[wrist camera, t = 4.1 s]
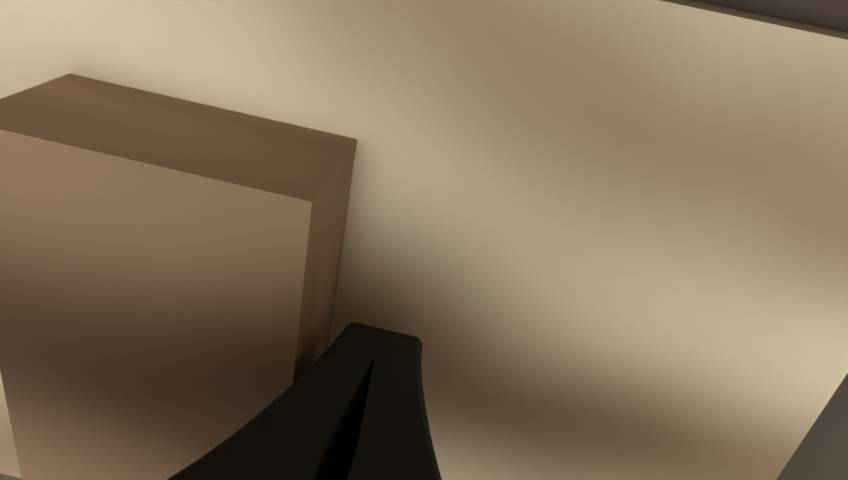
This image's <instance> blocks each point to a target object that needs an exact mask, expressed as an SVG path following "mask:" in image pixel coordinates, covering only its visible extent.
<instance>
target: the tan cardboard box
mask: <svg viewBox="0 0 848 480" xmlns="http://www.w3.org/2000/svg"><path fill="white" fill-rule="evenodd" d="M356 144H357V139H354V138H350V137H345V136H341V135H336V134H332V133H328V132H323V131H319V130H315V129H310V128H306V127H301V126H297V125H293V124H288V123H284V122H279V121H275V120H271V119H266V118H262V117H258V116H253V115H249V114H244V113H240V112H236V111H231V110H227V109H222V108H218V107H214V106H209V105H205V104H201V103H196V102H192V101H187V100H183V99H179V98H174V97H170V96H165V95H161V94H157V93H152V92H148V91H144V90H139V89H135V88H130V87H126V86H122V85H117V84H113V83H108V82H104V81H100V80H95V79H91V78H87V77H82V76H78V75H73V74H67V75H64V76H61V77H59V78H56V79H53V80H50V81H48V82H45V83H42V84H40V85H37V86H34V87H31V88H29V89H26V90H23V91H21V92H18V93H15V94H12V95H10V96H7V97H4V98H1V99H0V372H1V377H2V382H3V388H4V393H5V398H6V403H7V408H8V413H9V418H10V423H11V428H12V433H13V438H14V443H15V448H16V453H17V458H18V463H19V468H20V473H21V478H22V480H167V479H168V478H170V477H171V476H173V475H175V474H176V473H178V472H179V471H181V470H182V469H184V468H185V467H187V466H188V465H190V464H192V463H193V462H195V461H196V460H198V459H199V458H201V457H202V456H204V455H205V454H206V453H208V452H209V451H211V450H212V449H213V448H215V447H216V446H218V445H219V444H220V443H222V442H223V441H225V440H226V439H227V438H229V437H230V436H231V435H233V434H234V433H235V432H236V431H238V430H239V429H240V428H242V427H243V426H244V425H246V424H247V423H248V422H249V421H250V420H252V419H253V418H254V417H255V416H256V415H258V414H259V413H260V412H261V411H262V410H263V409H265V408H266V407H267V406H268V405H269V404H271V403H272V402H273V401H274V400H275V399H276V398H278V397H279V396H280V395H281V394H282V393H283V392H284V391H286V390H287V389H288V388H289V387H290V386H291V385H292V384H293V383H294V382H295V381H296V380H297V379H298V378H299V377H300V376H301V375H302V374H303V373H304V372H305V371H306V370H308V369H309V368H310V367H311V366H312V365H313V364H314V363H315V361H316V360H317V359H318V358H319V357H320V356H321V355H322V354H323V353H324V352H325V351H326V350H327V349H328V347H329V340H330V333H331V326H332V318H333V311H334V304H335V297H336V289H337V282H338V275H339V268H340V260H341V253H342V246H343V239H344V231H345V224H346V217H347V210H348V202H349V195H350V188H351V181H352V173H353V166H354V159H355V152H356Z"/></svg>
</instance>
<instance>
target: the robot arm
mask: <svg viewBox="0 0 848 480" xmlns="http://www.w3.org/2000/svg"><path fill="white" fill-rule="evenodd" d="M422 346H423V344H422V342H421V341H420V339H419V338H418V337H414V336H410V335H406V334H402V333H397V332H393V331H389V330H385V329H381V328H376V327H372V326H368V325H364V324H360V323H355V322H353V323H351V324H349V325H347V326H346V327H345V328H344V330H343V331H342V332H341V334H340V335H339V336H338V337H337V338H336V340H335V341H334V342H333V343H332V344H331V345H330V347H329V348H328V349H327V350H326V351H325V352H324V353H323V354H322V355H321V356H320V357H319V358H318V359H317V360H316V361H315V363H314V364H313V365H312V366H311V367H310V368H309V369H308V370H306V371H305V372H304V373H303V374H302V375H301V376H300V377H299V378H298V379H297V380H296V381H295V382H294V383H293V384H292V385H291V386H290V387H289V388H288V389H287V390H286V391H284V392H283V393H282V394H281V395H280V396H279V397H278V398H276V399H275V400H274V401H273V402H272V403H271V404H269V405H268V406H267V407H266V408H265V409H263V410H262V411H261V412H260V413H259V414H258V415H256V416H255V417H254V418H253V419H252V420H250V421H249V422H248V423H247V424H246V425H244V426H243V427H242V428H240V429H239V430H238V431H236V432H235V433H234V434H233V435H231V436H230V437H229V438H227V439H226V440H225V441H223V442H222V443H220V444H219V445H218V446H216V447H215V448H213V449H212V450H211V451H209V452H208V453H206V454H205V455H204V456H202V457H201V458H199V459H198V460H196V461H195V462H193V463H192V464H190V465H188V466H187V467H185V468H184V469H182V470H181V471H179V472H178V473H176V474H175V475H173V476H171V477H170V478H168V479H167V480H442V478H441V475H440V471H439V467H438V463H437V460H436V456H435V452H434V448H433V443H432V439H431V434H430V429H429V423H428V418H427V412H426V407H425V400H424V393H423V383H422V368H421V357H422Z"/></svg>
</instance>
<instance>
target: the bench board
mask: <svg viewBox="0 0 848 480" xmlns="http://www.w3.org/2000/svg"><path fill="white" fill-rule="evenodd" d="M67 74H73V75H78V76H82V77H87V78H91V79H95V80H100V81H104V82H108V83H113V84H117V85H122V86H126V87H130V88H135V89H139V90H144V91H148V92H152V93H157V94H161V95H165V96H170V97H174V98H179V99H183V100H187V101H192V102H196V103H201V104H205V105H209V106H214V107H218V108H222V109H227V110H231V111H236V112H240V113H244V114H249V115H253V116H258V117H262V118H266V119H271V120H275V121H279V122H284V123H288V124H293V125H297V126H301V127H306V128H310V129H315V130H319V131H323V132H328V133H332V134H336V135H341V136H345V137H350V138H354V139H357V144H356V152H355V159H354V166H353V173H352V181H351V188H350V195H349V202H348V210H347V217H346V224H345V231H344V239H343V246H342V253H341V260H340V268H339V275H338V282H337V289H336V297H335V304H334V311H333V318H332V326H331V333H330V340H329V347H330V345H331V344H332V343H333V342H334V341H335V340H336V338H337V337H338V336H339V335H340V334H341V332H342V331H343V330H344V328H345V327H346V326H347V325H349V324H351V323H353V322H355V323H360V324H364V325H368V326H372V327H376V328H381V329H385V330H389V331H393V332H397V333H402V334H406V335H410V336H414V337H418V338H419V339H420V341H421V342H422V344H423V346H422V357H421V368H422V383H423V393H424V400H425V407H426V412H427V418H428V423H429V429H430V434H431V439H432V443H433V448H434V452H435V456H436V460H437V463H438V467H439V471H440V475H441V478H442V480H776V479H777V477H778V476H779V474H780V473H781V471H782V470H783V468H784V467H785V466H786V464H787V463H788V461H789V460H790V458H791V457H792V455H793V454H794V452H795V451H796V449H797V448H798V446H799V445H800V443H801V442H802V440H803V439H804V437H805V436H806V434H807V433H808V431H809V430H810V428H811V427H812V425H813V424H814V422H815V421H816V419H817V418H818V416H819V415H820V413H821V412H822V410H823V409H824V407H825V406H826V404H827V403H828V401H829V400H830V398H831V397H832V395H833V394H834V392H835V391H836V389H837V388H838V387H839V385H840V384H841V382H842V381H843V379H844V378H845V376H846V375H847V373H848V33H846V32H842V31H837V30H832V29H827V28H822V27H818V26H813V25H808V24H803V23H799V22H794V21H789V20H784V19H779V18H775V17H770V16H765V15H760V14H756V13H751V12H746V11H741V10H736V9H732V8H727V7H722V6H717V5H713V4H708V3H703V2H698V1H694V0H0V99H1V98H4V97H7V96H10V95H12V94H15V93H18V92H21V91H23V90H26V89H29V88H31V87H34V86H37V85H40V84H42V83H45V82H48V81H50V80H53V79H56V78H59V77H61V76H64V75H67ZM329 347H328V348H329ZM0 473H2V474H6V475H10V476H14V477H18V478H21V473H20V468H19V463H18V458H17V453H16V448H15V443H14V438H13V433H12V428H11V423H10V418H9V413H8V408H7V403H6V398H5V393H4V388H3V382H2V377H1V372H0Z"/></svg>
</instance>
